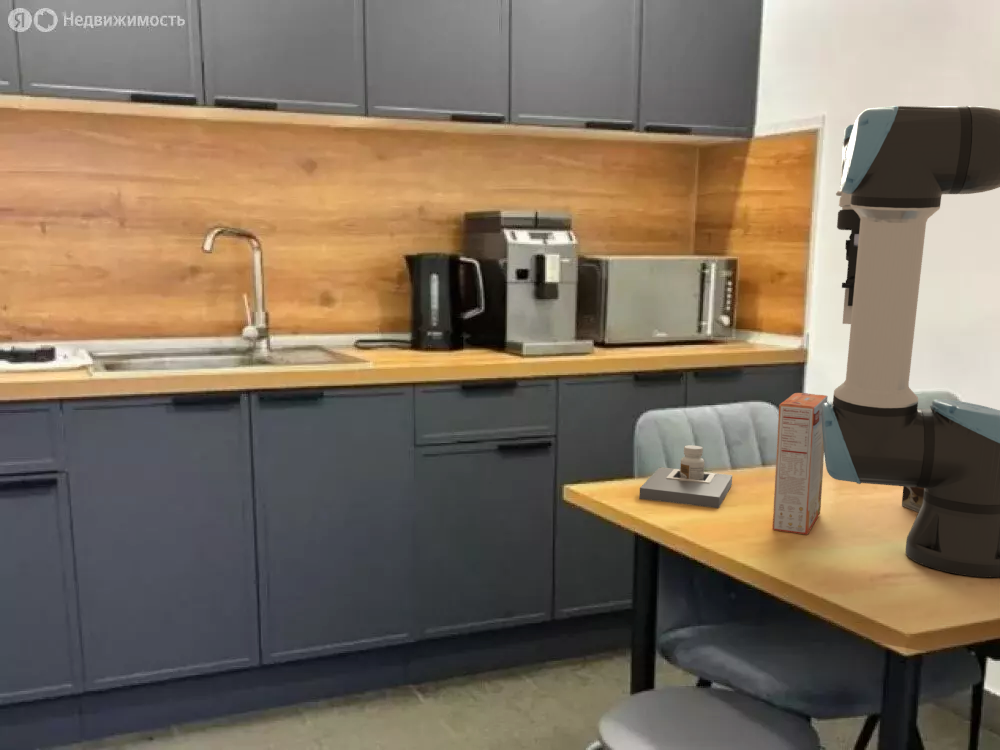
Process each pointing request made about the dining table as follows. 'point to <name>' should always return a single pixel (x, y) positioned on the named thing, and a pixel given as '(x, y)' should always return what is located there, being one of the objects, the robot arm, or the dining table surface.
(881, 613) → the dining table surface
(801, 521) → the cracker box
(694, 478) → the pill bottle
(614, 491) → the dining table surface
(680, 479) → the socket plate
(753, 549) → the dining table surface
